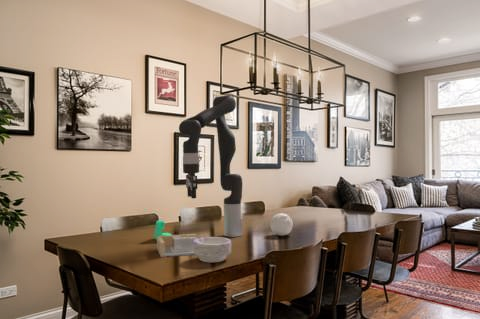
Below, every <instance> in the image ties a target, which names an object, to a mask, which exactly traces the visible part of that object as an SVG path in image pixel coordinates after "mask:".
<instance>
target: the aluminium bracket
mask: <svg viewBox="0 0 480 319" xmlns="http://www.w3.org/2000/svg"><path fill="white" fill-rule="evenodd" d="M195 239H198V236H197V237H183V238H181V237H180V236H172V248H173V250H174V251H185V250H194V249H193V247H194V244H193V242H194V240H195Z"/></svg>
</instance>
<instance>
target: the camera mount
mask: <svg viewBox="0 0 480 319" xmlns="http://www.w3.org/2000/svg"><path fill="white" fill-rule="evenodd" d="M164 229H165V221H164V219H161V220H156V222H155V227H154V238H155V240H156V241H157V236H168V235H172V233H170V232H163V231H162V230H164Z"/></svg>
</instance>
